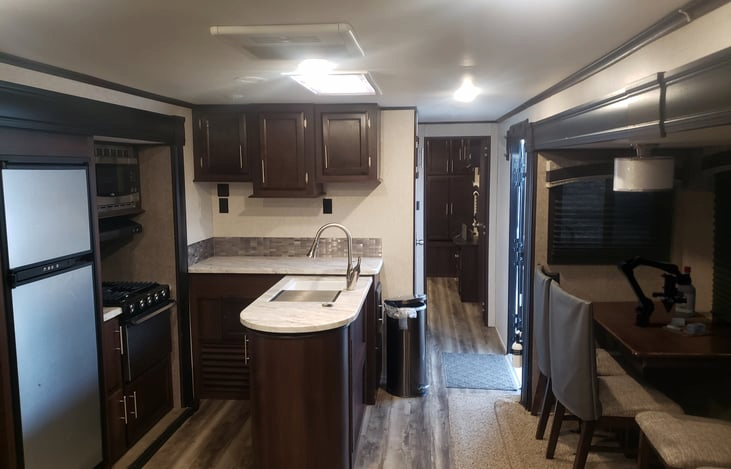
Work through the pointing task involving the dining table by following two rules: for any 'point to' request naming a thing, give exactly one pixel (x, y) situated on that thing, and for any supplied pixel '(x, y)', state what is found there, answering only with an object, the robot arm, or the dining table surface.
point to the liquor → (690, 295)
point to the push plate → (677, 322)
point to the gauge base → (688, 329)
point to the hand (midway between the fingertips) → (668, 312)
